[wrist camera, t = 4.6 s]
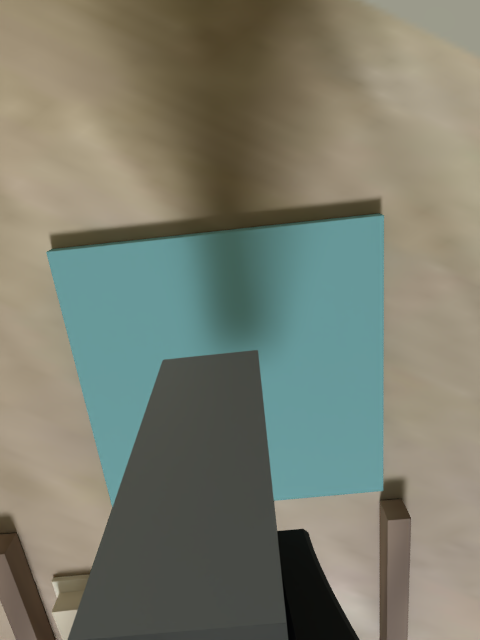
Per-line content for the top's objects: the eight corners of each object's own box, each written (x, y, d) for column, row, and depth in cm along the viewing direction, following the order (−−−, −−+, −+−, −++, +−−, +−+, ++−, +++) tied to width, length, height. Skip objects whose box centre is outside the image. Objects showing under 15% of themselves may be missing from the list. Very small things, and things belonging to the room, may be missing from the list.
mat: (379, 213, 17) (383, 215, 16) (379, 482, 21) (383, 490, 20) (51, 249, 17) (46, 252, 16) (117, 506, 21) (114, 514, 21)
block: (258, 349, 11) (286, 622, 5) (282, 582, 14) (320, 950, 8) (162, 359, 12) (66, 641, 5) (206, 589, 14) (180, 959, 8)
